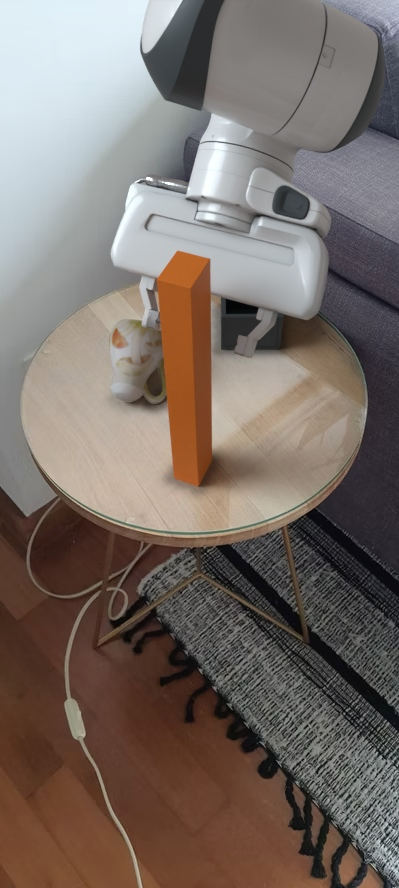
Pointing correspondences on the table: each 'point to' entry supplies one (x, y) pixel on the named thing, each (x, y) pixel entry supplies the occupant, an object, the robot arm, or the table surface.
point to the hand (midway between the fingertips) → (196, 342)
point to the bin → (246, 325)
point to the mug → (135, 360)
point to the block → (187, 362)
